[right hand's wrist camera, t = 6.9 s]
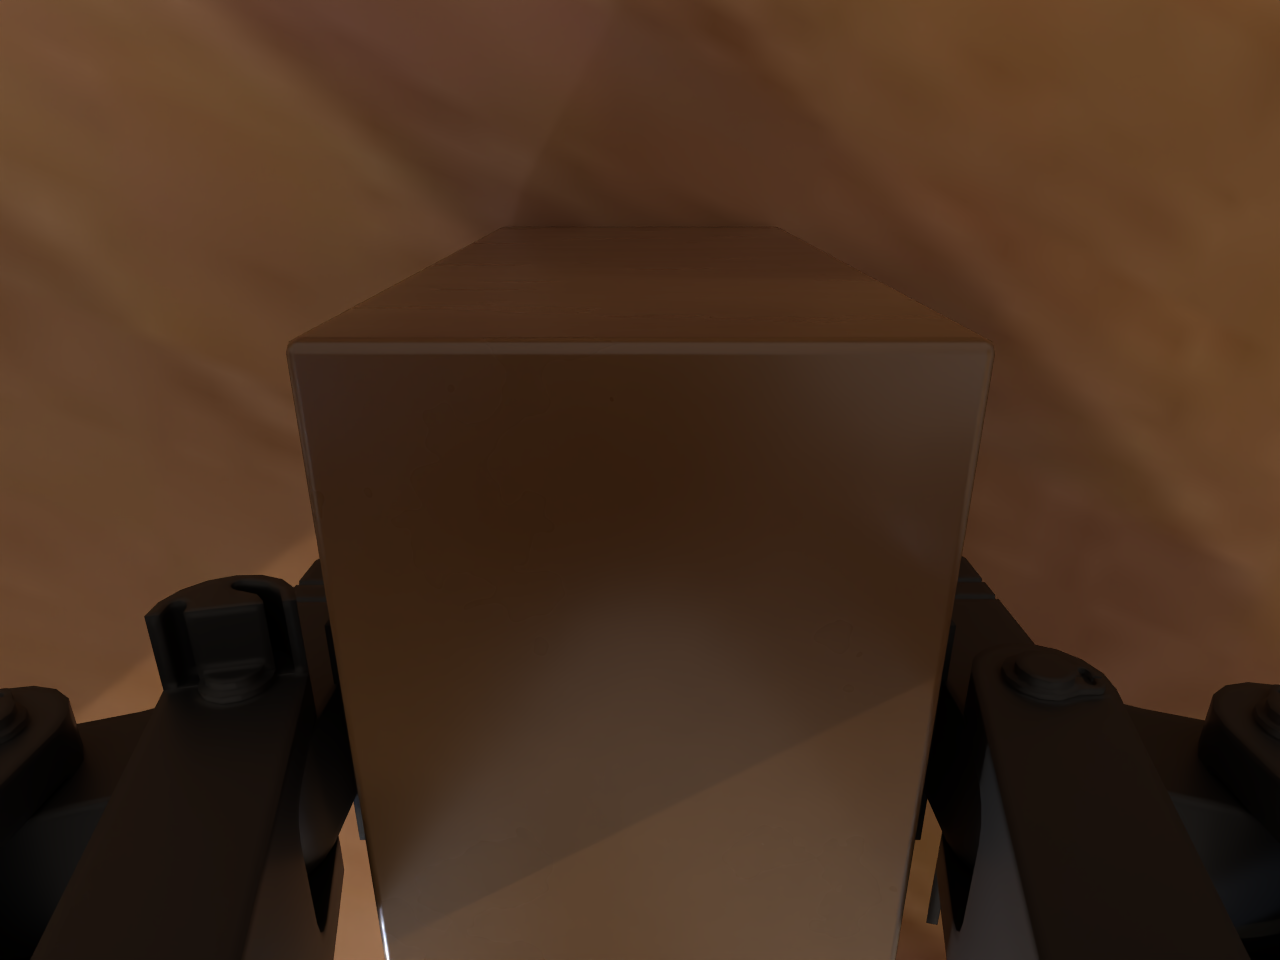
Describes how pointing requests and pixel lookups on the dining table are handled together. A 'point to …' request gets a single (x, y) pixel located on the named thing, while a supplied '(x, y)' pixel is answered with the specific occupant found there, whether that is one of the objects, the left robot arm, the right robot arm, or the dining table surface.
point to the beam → (640, 589)
